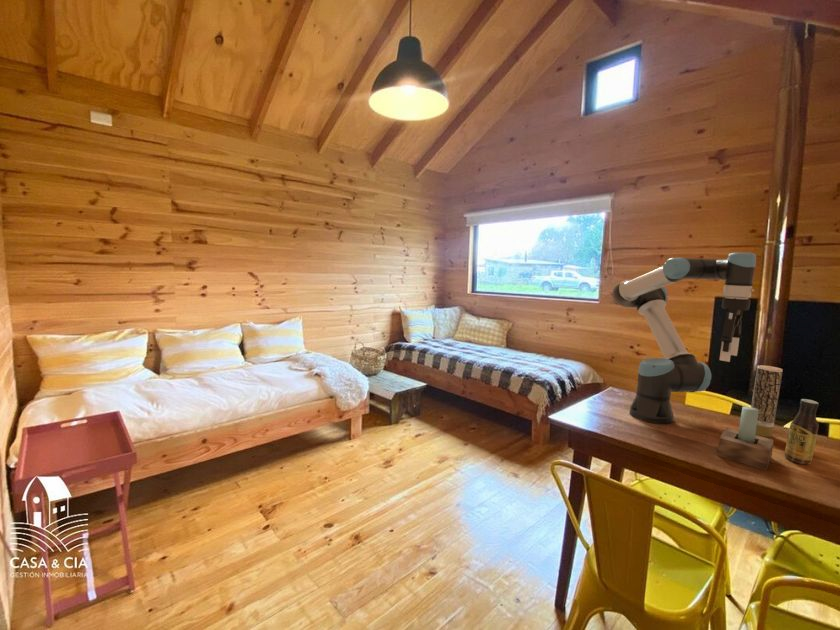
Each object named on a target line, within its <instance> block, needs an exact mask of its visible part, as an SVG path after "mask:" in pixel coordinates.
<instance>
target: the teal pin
mask: <svg viewBox="0 0 840 630" xmlns="http://www.w3.org/2000/svg"><path fill="white" fill-rule="evenodd" d="M758 413H759V410H758V409H756V408H752V407H751V406H747V405H746V406H742V407H741V413H740V420H739V426H738V427H739V428H738V429H739V430H738V431H739V435H738V440H742V441H746V442H749V443H753V444H754V441H755V434H756V427H757V420H758Z"/></svg>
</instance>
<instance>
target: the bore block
mask: <svg viewBox="0 0 840 630" xmlns="http://www.w3.org/2000/svg"><path fill="white" fill-rule="evenodd" d="M738 435H739V430H736V429H733V428H729V427H726V428H725V429H724V431H723V432H722V433H721V435H720V436H719V440H718V446H717V454H716V456H718V457H721V458H725V459H727V460H729V461H734V462H737V463H741V464H744V465H747V466H751V467H753V468H756V469H760V470H764V471H768V469H769V468H768V467H769V465H770V463H771V459H772V455H773V447H774V441H775V440H774V439H772V438H769V437H761V436H757V435H755V441H754V444H753V443H749V442H746V441H742V440H738Z"/></svg>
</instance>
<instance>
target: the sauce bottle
mask: <svg viewBox="0 0 840 630" xmlns="http://www.w3.org/2000/svg"><path fill="white" fill-rule="evenodd" d="M819 403H820V402H817V401H815V400H813V399H807V398H801V399H800V402H799V410H798V412H797V413H796V415H795V417H793V420H792V421H791V423H790V424H789V430H788V435H787V440H786V444H785V445H786V446H785V449H784V457H785V458H786V459H787V460H789V461H791V462H793V463H795V464H799V465H810V464H811V463H812V460H813V457H814V452H815V449H816V448H815V447H816V443H817V440H818V439H817V438H818V434H819V433H818V431H819V427H820V424H819V421H818V420H817V411H818V408H819V406H820V405H819Z"/></svg>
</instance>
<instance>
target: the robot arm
mask: <svg viewBox="0 0 840 630" xmlns="http://www.w3.org/2000/svg"><path fill="white" fill-rule="evenodd" d="M756 267H757V255H756V254H755V253H754V252H730V253H729V254H728V256H727V258H697V257H696V258H695V257H671V258H668V259H667V260H666V262H664V264H663V266H660V267H658V268H656V269H654V270H651V271H649V272H647V273H645V274H642V275H640V276H638V277H635V278H633V279H625V280H623V281H621V282H618V283H617V284H616V285H615V286H614V287H613V289H612V299H613V301H614V302H615V303H616V304H617V305H619V306H621V307H622V308H623V307H625V308H635V309H636V310H637V312H638V314H639V315H640V316H643V317H644V318H645V320H646V323H647V325H648V327H649V329H650V331H651V334H652V335H653V337H654V339H655V341H656V343H657V345H658V348H659V349H660V352H661V353H662V356H663V357H659V358H658V357H650V358H649V357H648V358H645V359H642V360H641V361H640V363H639V366H638V370H637V373H638V374H637V375H638V376H637V383H636V395H635V396H634V399H633V401H632V403H631V404H630V407H629V414H630V415H631V416H632V417H633V418H635V419H637V420H641V421H642V422H643V421H644V422H648V423H652V424H660V425H669V424H672V423H673V421H674V417H675V416H674V412H673V409H672V404H671V395H672V393H696V392H703V391H705V390H706V389H708V387H709V386H710V384H711V380H712V372H711V370H710V367H709V366H708V365H707V364H706V363H703V362H701V361H700V362H699V361H698V360H697V358H696V356H695V354H693V353H690V352H689V351H688V349H687V348H686V346H685V344H684V343H683V340H682V339H681V337H680V335H679V333H678V331H677V329H676V327H675V326H674V323H673V322H672V320H671V318H670V316H669V314H668V312H667V310H666V309H665V308H666V307H667V302H668V292H667V289H666V288H665V287H667V286H669V285H672V284H675V283H679V282H680V281H683V280H711V281H712V280H720V281H721V280H722V281H723V280H724V285H723V291H722V296H723V298H722V300H721V302H722V303H721V308H722V309H724V310H729V311H728V312H726V313H725V321H724V325H723V329H722V335H721V338H719V339H718V341H719V342H721V345H720V354H719V361H723V362H728V363H730V362H731V356H734V357H737V356H738V353H739V352H738V351H739V344H740V339H742V338H743V334H742V319H743V311H749V310H750V306H751V299H750V298H751V297H752V293H754V292H755V289H754V288H753V285H754V284H753V283H754V277H755V272H756Z"/></svg>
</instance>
